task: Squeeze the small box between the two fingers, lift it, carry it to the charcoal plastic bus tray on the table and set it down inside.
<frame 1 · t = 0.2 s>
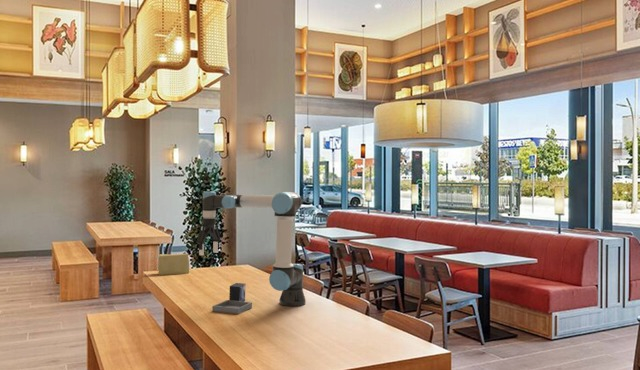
hand: (208, 253, 305), 27 cm above the table, fingers open, 13 cm apart
tray: (232, 309, 284), on the table
olive rectangular block: (173, 274, 391), on the table
small box: (237, 302, 301), on the table
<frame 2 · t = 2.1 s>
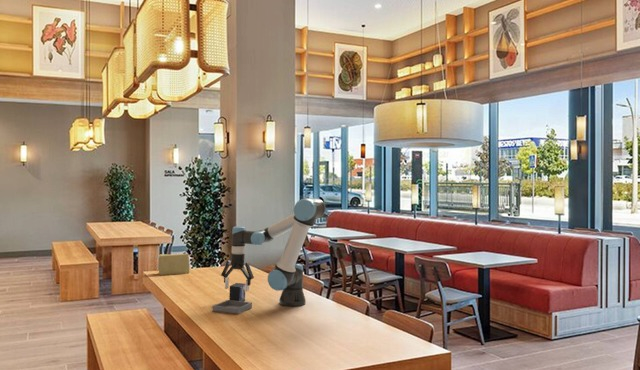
hand: (236, 289, 301), 7 cm above the table, fingers open, 13 cm apart
nothing on the table moved.
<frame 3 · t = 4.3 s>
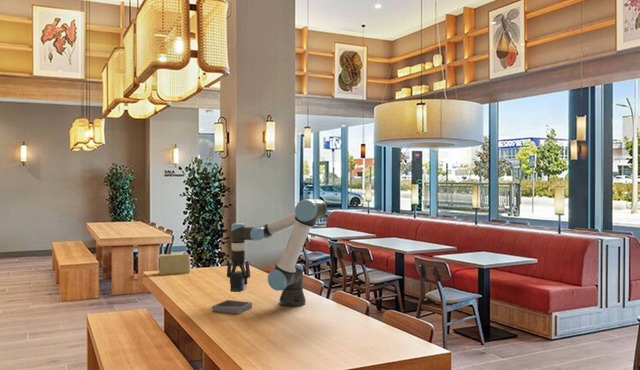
hand: (238, 289, 301), 7 cm above the table, fingers closed on small box, 7 cm apart
small box: (238, 290, 301), point 7 cm above the table, touching gripper
everything else where it was.
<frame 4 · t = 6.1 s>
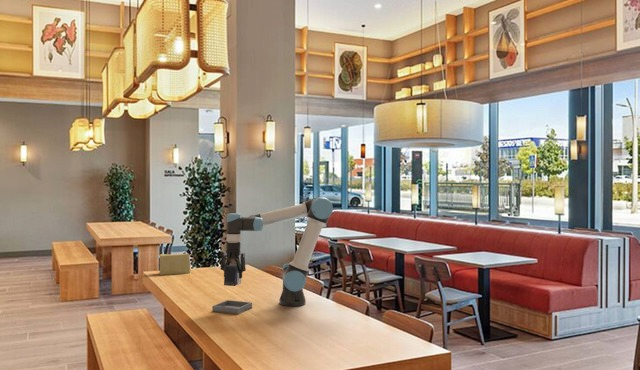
hand: (232, 283, 284), 14 cm above the table, fingers closed on small box, 7 cm apart
small box: (232, 284, 284), point 14 cm above the table, touching gripper
everything else where it was.
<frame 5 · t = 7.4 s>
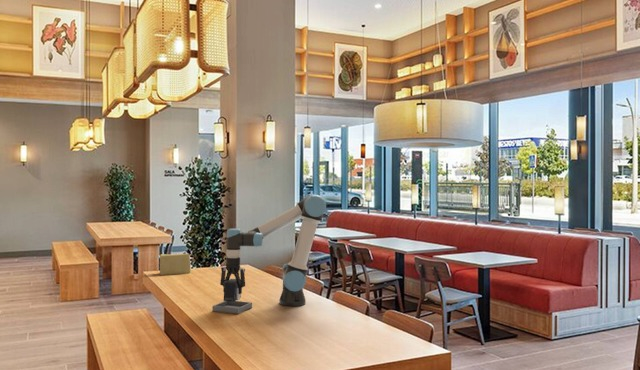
hand: (232, 298, 284), 6 cm above the table, fingers closed on small box, 7 cm apart
small box: (232, 300, 284), point 5 cm above the table, touching gripper
everything else where it was.
when the fingers open (2 cm above the table, at t = 8.5 s): small box drops 1 cm, resting on tray.
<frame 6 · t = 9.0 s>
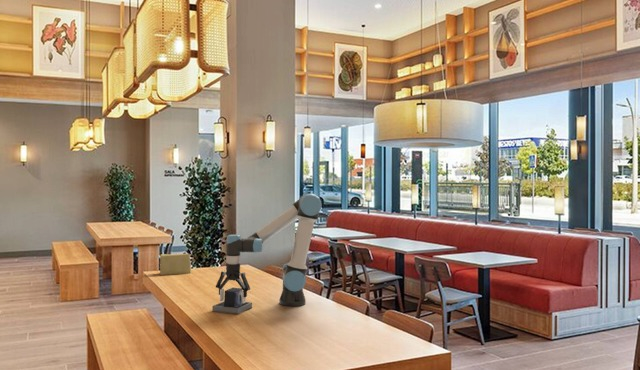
hand: (232, 302, 284), 4 cm above the table, fingers open, 13 cm apart
small box: (233, 308, 284), resting on tray
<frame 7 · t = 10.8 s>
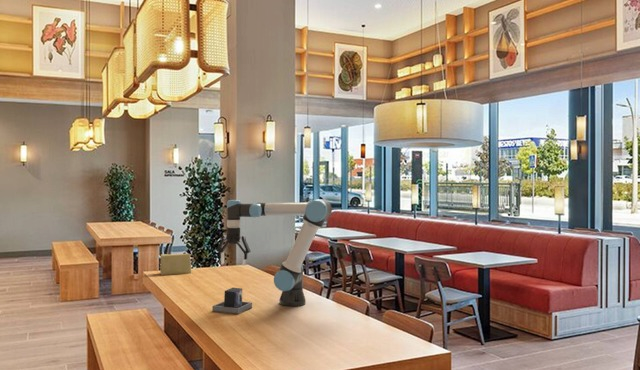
hand: (233, 264, 294), 23 cm above the table, fingers open, 13 cm apart
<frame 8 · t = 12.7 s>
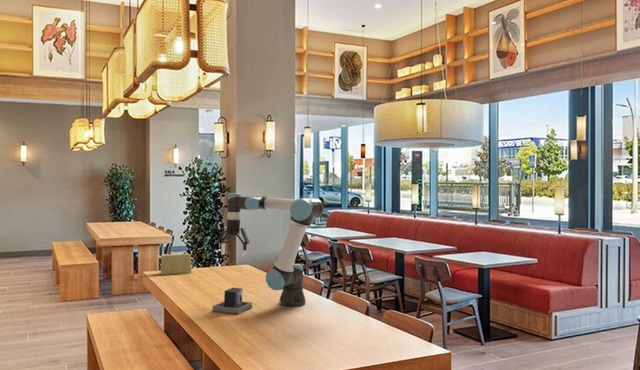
hand: (233, 255, 305), 27 cm above the table, fingers open, 13 cm apart
at the end: small box inside the target area on the tray (0.4 cm from its centre), point 0.4 cm above the tray's base; small box tilted 0°; the gripper is holding nothing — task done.
